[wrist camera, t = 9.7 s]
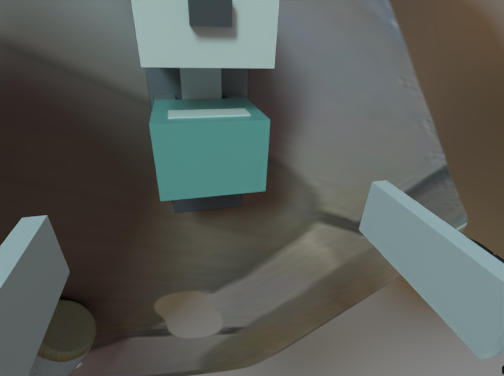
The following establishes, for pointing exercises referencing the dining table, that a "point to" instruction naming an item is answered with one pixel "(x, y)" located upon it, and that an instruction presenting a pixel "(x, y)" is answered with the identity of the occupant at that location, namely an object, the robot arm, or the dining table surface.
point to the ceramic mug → (65, 340)
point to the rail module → (208, 146)
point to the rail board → (204, 55)
